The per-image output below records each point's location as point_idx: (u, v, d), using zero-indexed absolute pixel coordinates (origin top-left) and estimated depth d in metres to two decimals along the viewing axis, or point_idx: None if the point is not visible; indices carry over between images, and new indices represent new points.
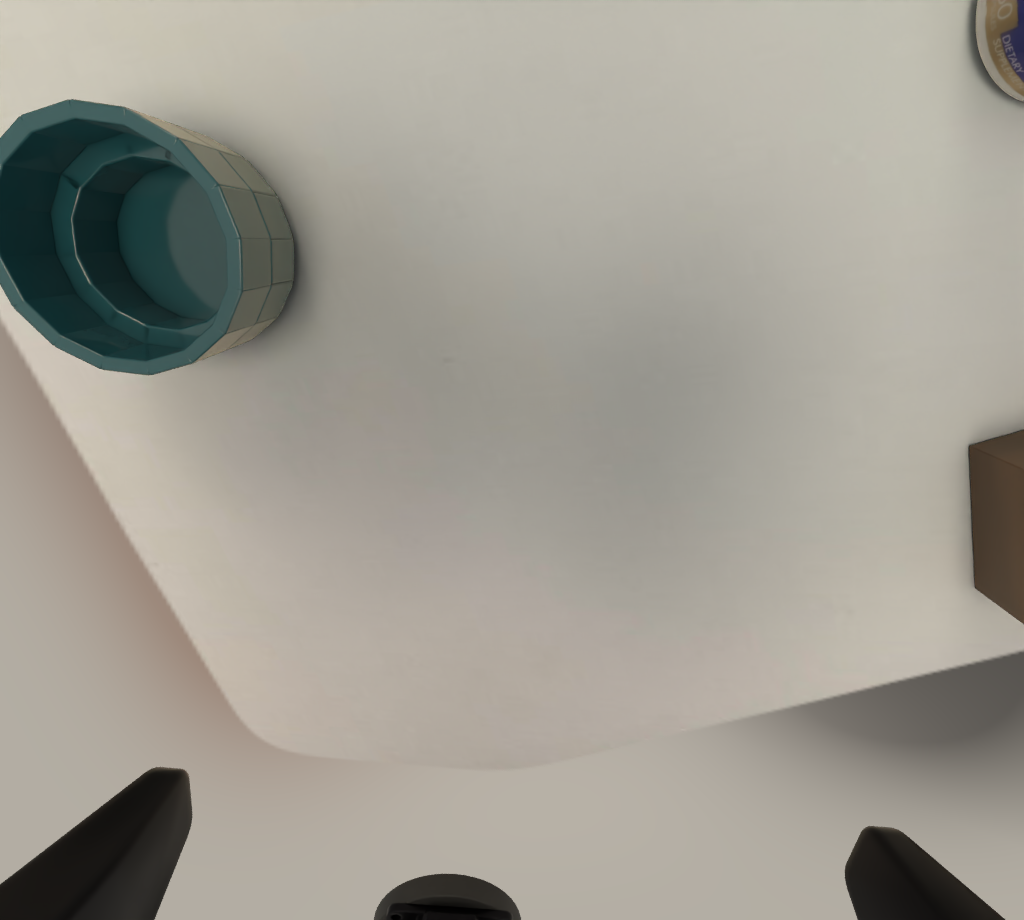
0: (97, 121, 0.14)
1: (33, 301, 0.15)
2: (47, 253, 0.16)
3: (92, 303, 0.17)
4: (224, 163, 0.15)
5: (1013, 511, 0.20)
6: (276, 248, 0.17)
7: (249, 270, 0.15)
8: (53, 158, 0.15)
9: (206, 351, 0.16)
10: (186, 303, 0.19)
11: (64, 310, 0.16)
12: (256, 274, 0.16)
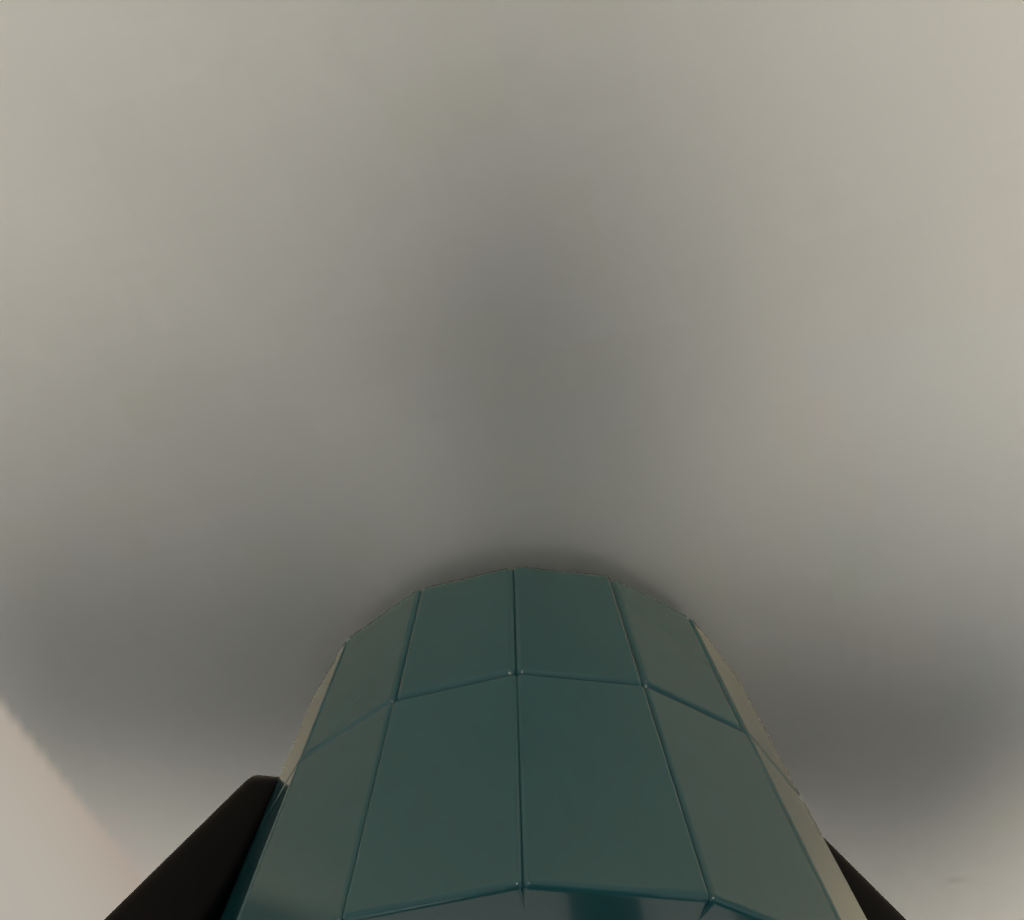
0: (594, 915, 0.04)
1: None
2: None
3: None
4: (784, 788, 0.06)
5: None
6: None
7: None
8: None
9: None
10: None
11: None
12: None
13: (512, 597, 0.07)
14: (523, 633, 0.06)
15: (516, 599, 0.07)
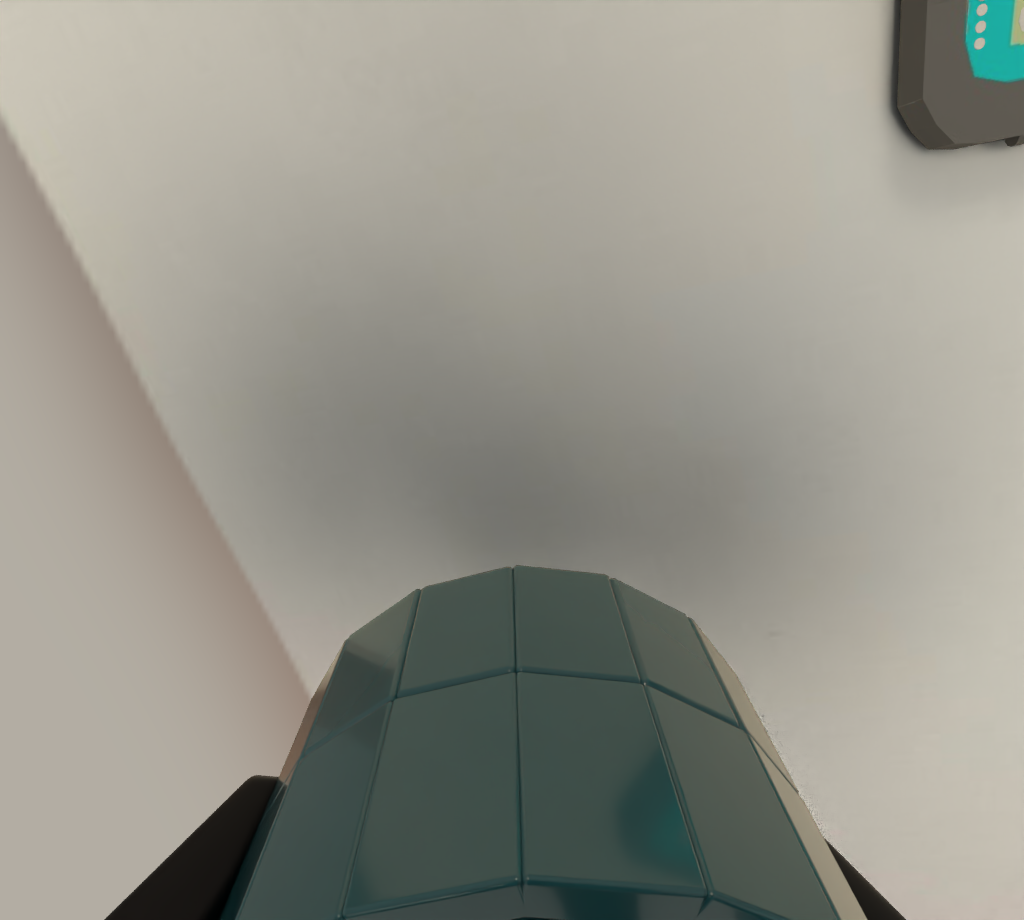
0: (592, 911, 0.04)
1: None
2: None
3: None
4: (783, 785, 0.06)
5: None
6: None
7: None
8: None
9: None
10: None
11: None
12: None
13: (512, 594, 0.07)
14: (523, 631, 0.06)
15: (516, 597, 0.07)
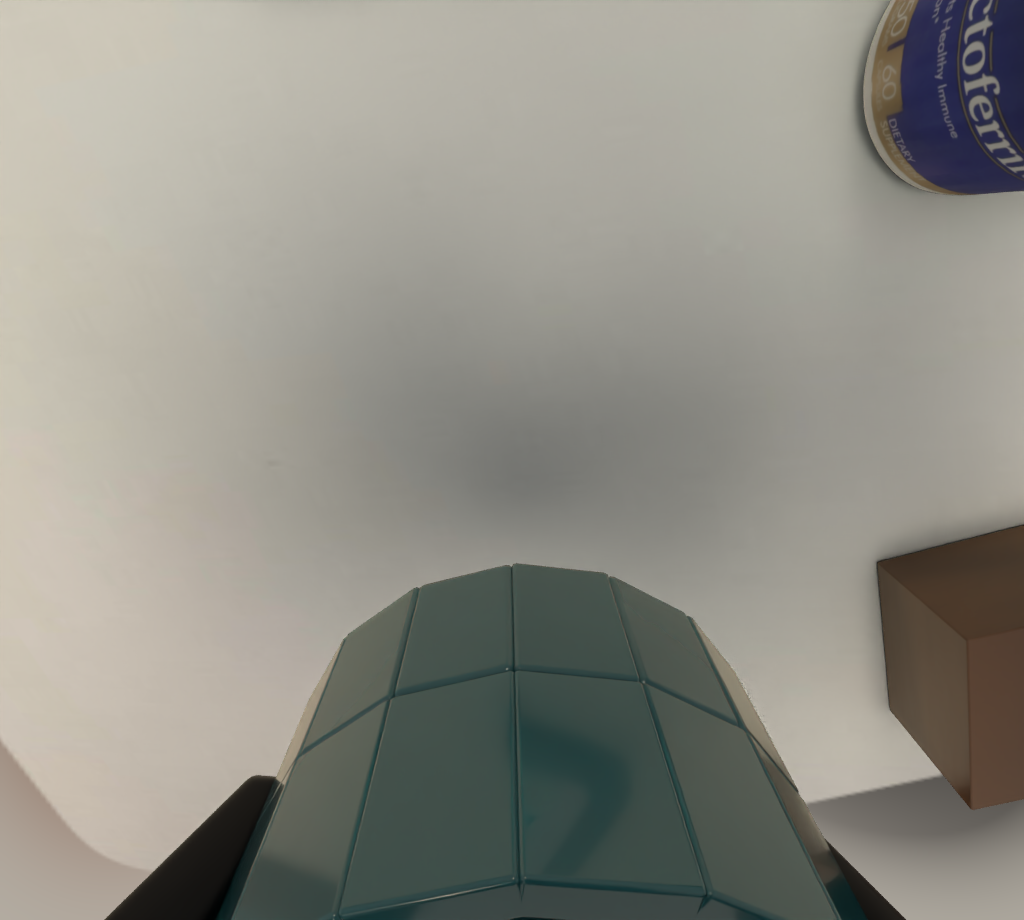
0: (591, 911, 0.04)
1: None
2: None
3: None
4: (782, 784, 0.06)
5: (920, 645, 0.18)
6: None
7: None
8: None
9: None
10: None
11: None
12: None
13: (510, 593, 0.07)
14: (521, 629, 0.06)
15: (514, 596, 0.07)
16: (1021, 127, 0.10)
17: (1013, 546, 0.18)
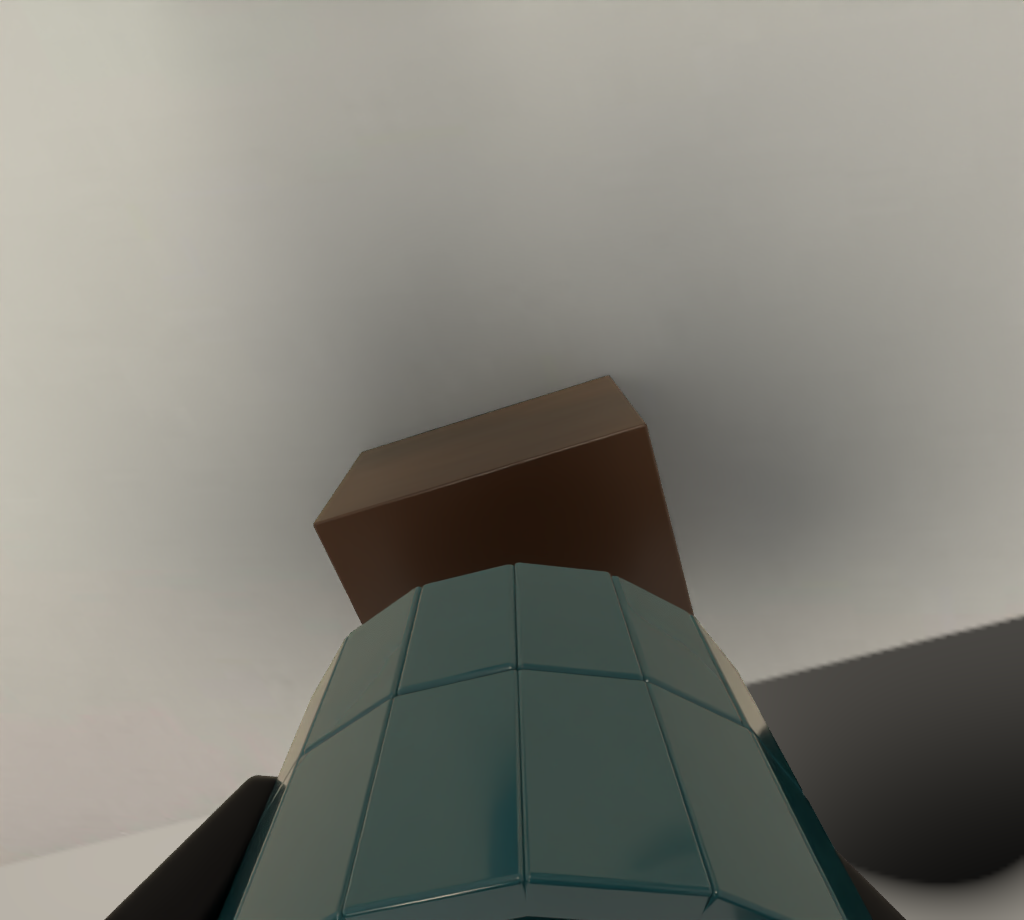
0: (596, 910, 0.04)
1: None
2: None
3: None
4: (787, 783, 0.06)
5: None
6: None
7: None
8: None
9: None
10: None
11: None
12: None
13: (513, 591, 0.07)
14: (524, 628, 0.06)
15: (517, 594, 0.07)
16: None
17: (495, 420, 0.14)
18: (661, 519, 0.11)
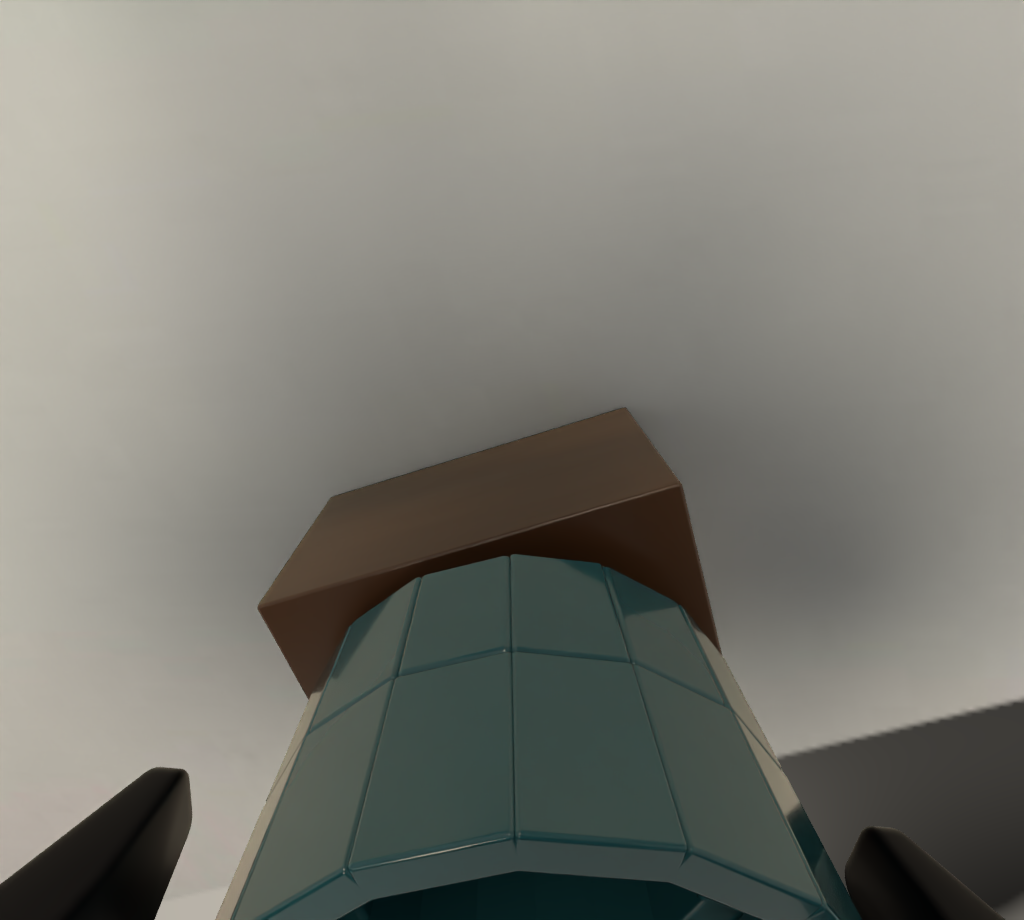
0: (581, 867, 0.04)
1: None
2: None
3: None
4: (765, 760, 0.06)
5: None
6: None
7: None
8: None
9: None
10: None
11: None
12: None
13: (508, 580, 0.07)
14: (518, 614, 0.07)
15: (512, 584, 0.07)
16: None
17: (489, 463, 0.11)
18: (698, 599, 0.09)
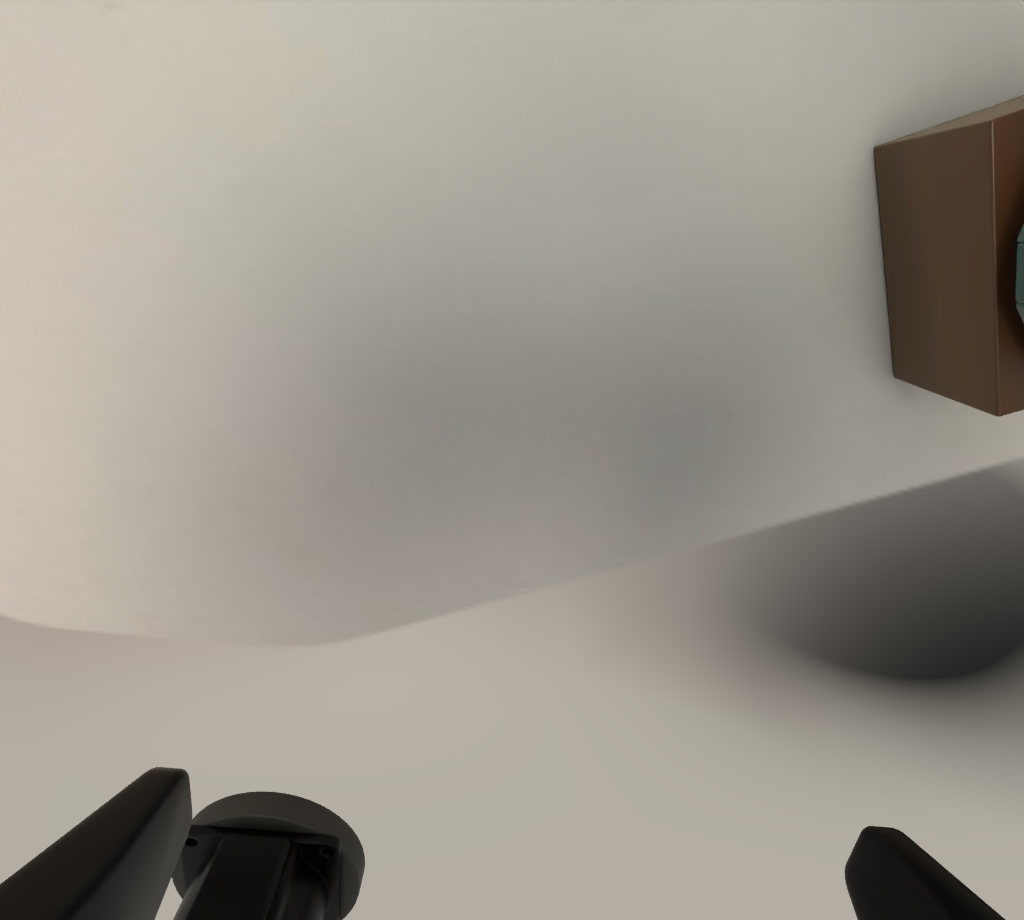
0: None
1: None
2: None
3: None
4: None
5: (929, 217, 0.14)
6: None
7: None
8: None
9: None
10: None
11: None
12: None
13: None
14: None
15: None
16: None
17: None
18: None
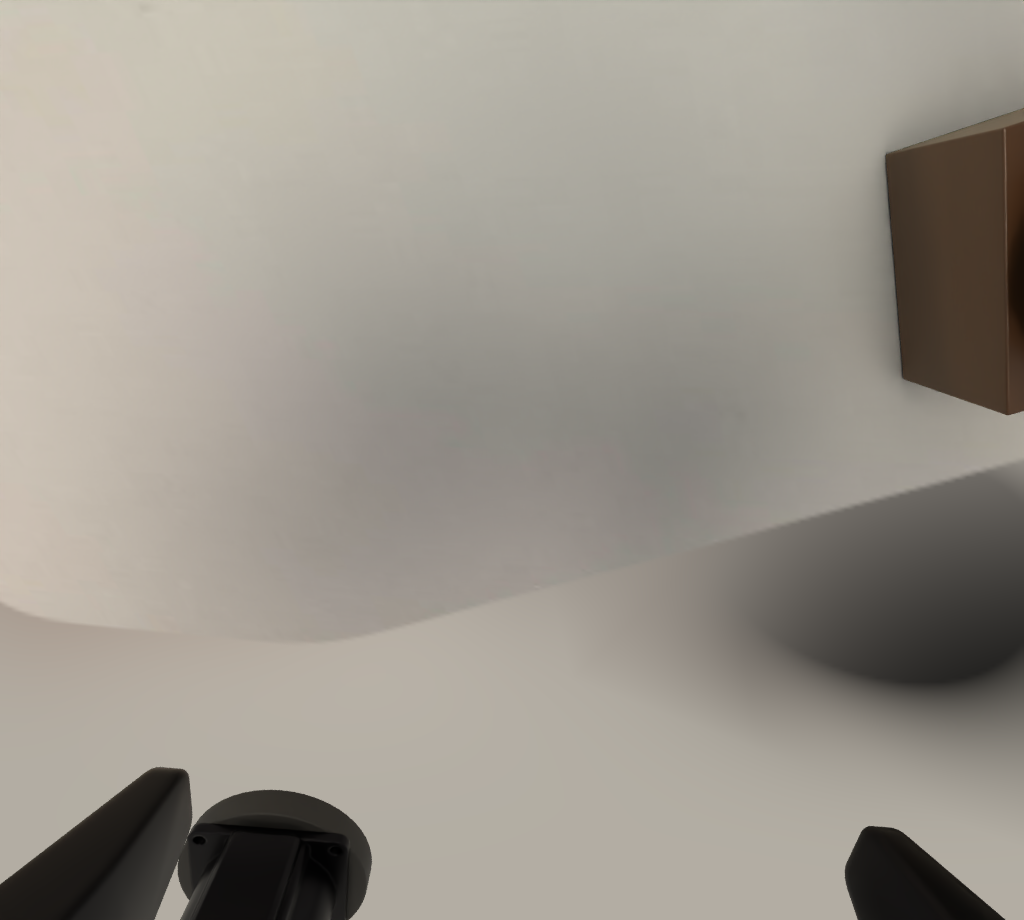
0: None
1: None
2: None
3: None
4: None
5: (940, 221, 0.14)
6: None
7: None
8: None
9: None
10: None
11: None
12: None
13: None
14: None
15: None
16: None
17: None
18: None
